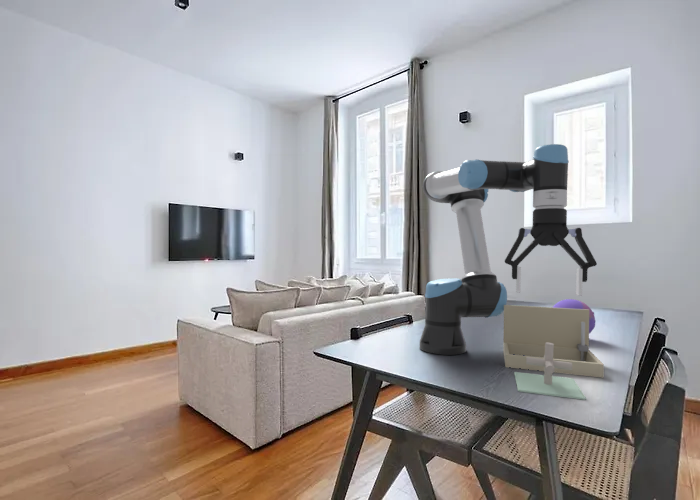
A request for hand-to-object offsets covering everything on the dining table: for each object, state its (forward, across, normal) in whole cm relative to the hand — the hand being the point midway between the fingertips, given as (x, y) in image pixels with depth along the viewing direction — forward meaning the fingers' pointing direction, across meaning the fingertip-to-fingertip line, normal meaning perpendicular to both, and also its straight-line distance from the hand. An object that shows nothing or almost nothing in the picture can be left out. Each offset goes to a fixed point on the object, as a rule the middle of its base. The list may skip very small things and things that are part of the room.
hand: (547, 293), depth 95 cm
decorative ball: (+23, +16, +58) cm, 64 cm away
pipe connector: (+22, 0, -1) cm, 22 cm away
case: (+23, +3, +19) cm, 30 cm away
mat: (+23, 0, -1) cm, 23 cm away
